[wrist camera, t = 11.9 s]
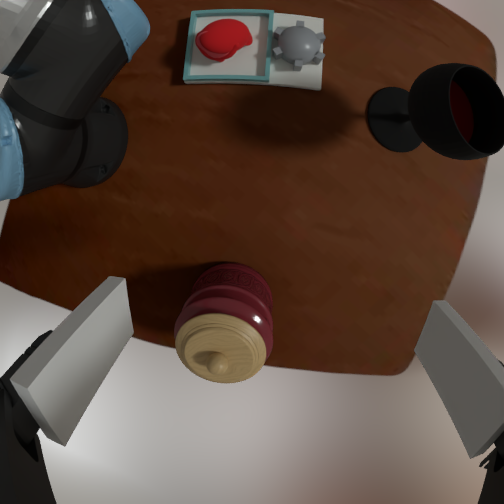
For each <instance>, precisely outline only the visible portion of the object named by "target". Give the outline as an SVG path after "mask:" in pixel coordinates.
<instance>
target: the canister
mask: <svg viewBox="0 0 504 504" xmlns="http://www.w3.org/2000/svg"><path fill="white" fill-rule="evenodd" d="M272 307H273V301H272V294H271V291H270V288H269V286H268V284H267V282H266V281H265V279H264V278H263V277H262V275H261V274H259V273H258V272H257V271H256V270H254V269H253V268H251V267H249V266H247V265H244V264H240V263H234V262H227V263H221V264H217V265H215V266H212V267H211V268H209V269H208V270H206V271H205V272H204V273H202V274H201V275H200V276H199V278H198V279H197V280H196V282H195V284H194V286H193V288H192V292H191V295H190V297H189V298H188V299H187V300H186V302H185V304H184V306H183V308H182V311H181V313H180V314H179V316H178V317H177V320H176V322H175V327H174V336H175V341H176V351H177V354H178V356H179V358H180V360H181V361H182V363H183V364H184V365H185V366H186V367H187V368H188V369H189V370H190V371H191V372H193V373H194V374H196V375H197V376H199V377H201V378H204V379H206V380H209V381H212V382H217V383H236V382H240V381H244V380H246V379H248V378H250V377H252V376H254V375H255V374H256V373H257V372H258V371H259V370H260V369H261V368H262V366H263V364H264V362H265V361H266V360H267V358H268V357H269V355H270V353H271V350H272V347H273V334H272V332H273V320H272V314H271V312H272Z"/></svg>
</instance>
